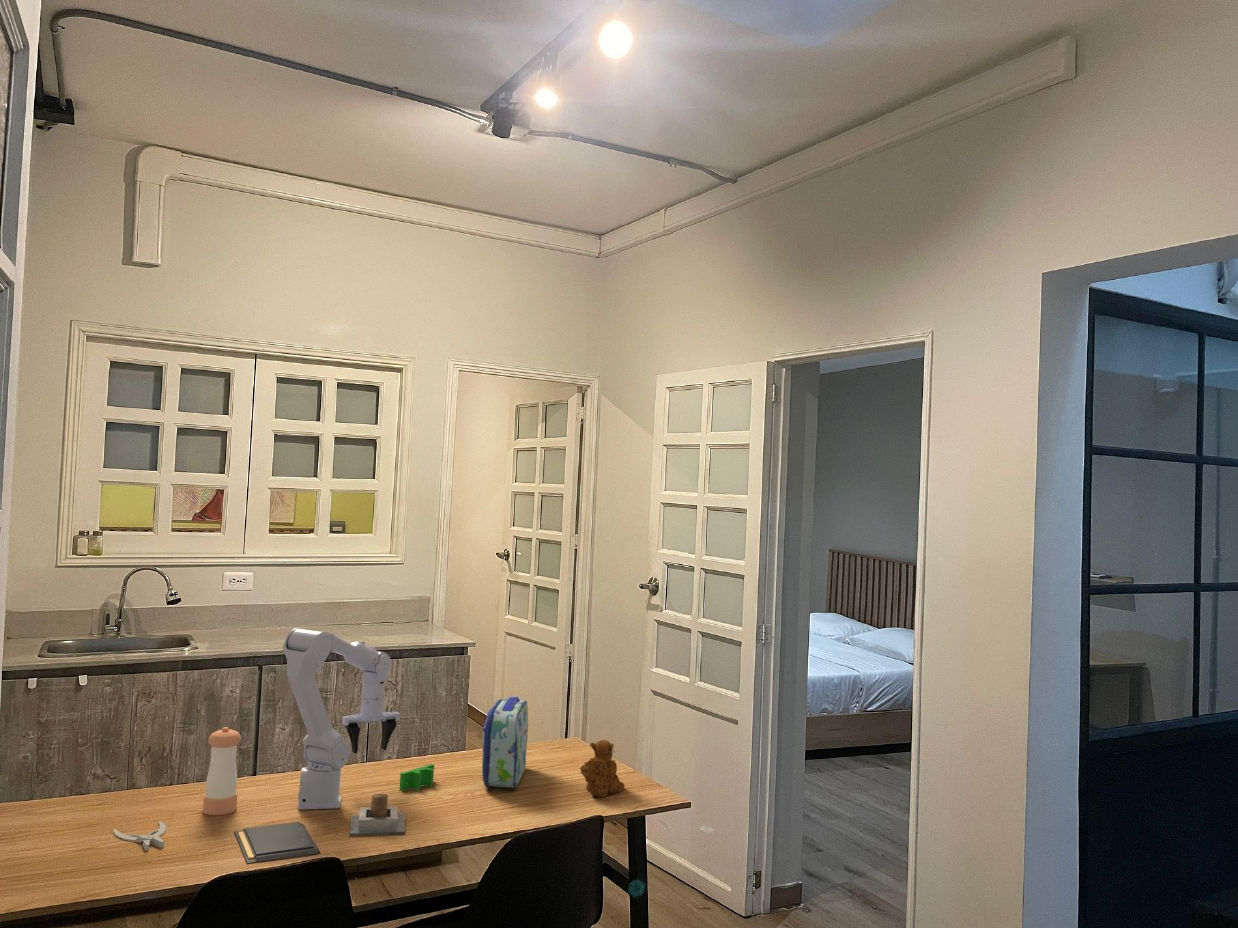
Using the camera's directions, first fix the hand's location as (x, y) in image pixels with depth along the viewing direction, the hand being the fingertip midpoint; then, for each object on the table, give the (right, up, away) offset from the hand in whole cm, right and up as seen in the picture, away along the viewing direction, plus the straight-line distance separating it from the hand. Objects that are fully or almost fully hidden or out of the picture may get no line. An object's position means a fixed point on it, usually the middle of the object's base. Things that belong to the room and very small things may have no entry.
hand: (369, 750), depth 232 cm
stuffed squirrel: (+60, -13, +5) cm, 61 cm away
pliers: (-36, -6, -41) cm, 55 cm away
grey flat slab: (-9, -8, -40) cm, 42 cm away
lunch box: (+33, -12, +13) cm, 38 cm away
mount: (+9, -9, -27) cm, 30 cm away
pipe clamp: (+12, -11, +3) cm, 17 cm away
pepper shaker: (-29, -7, -22) cm, 37 cm away
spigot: (+9, -8, -27) cm, 29 cm away
